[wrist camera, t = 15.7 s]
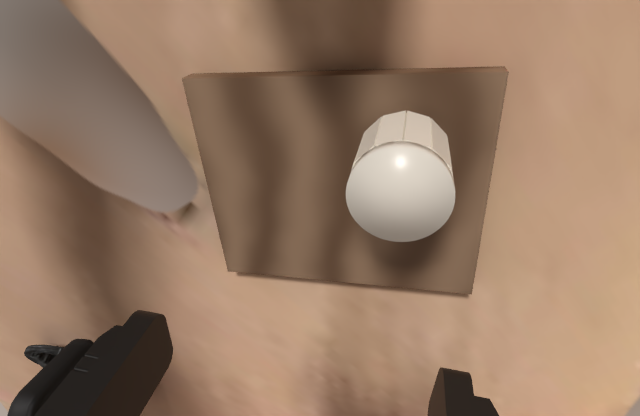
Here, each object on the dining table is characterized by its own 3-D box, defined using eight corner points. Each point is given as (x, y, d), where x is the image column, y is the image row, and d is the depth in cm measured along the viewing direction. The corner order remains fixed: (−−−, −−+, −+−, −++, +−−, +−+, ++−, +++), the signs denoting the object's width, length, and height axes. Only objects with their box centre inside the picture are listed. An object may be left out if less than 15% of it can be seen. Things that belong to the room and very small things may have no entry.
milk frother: (172, 384, 54) (98, 509, 42) (100, 398, 60) (17, 510, 48) (100, 309, 49) (-9, 427, 36) (29, 334, 55) (-84, 441, 43)
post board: (234, 261, 40) (198, 317, 33) (191, 73, 30) (131, 102, 24) (469, 282, 35) (479, 352, 28) (504, 66, 25) (530, 100, 19)
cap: (399, 208, 30) (394, 258, 25) (342, 151, 28) (324, 192, 23) (468, 158, 26) (479, 203, 22) (407, 92, 25) (403, 125, 20)
